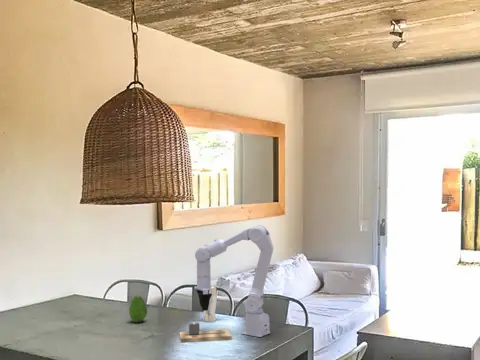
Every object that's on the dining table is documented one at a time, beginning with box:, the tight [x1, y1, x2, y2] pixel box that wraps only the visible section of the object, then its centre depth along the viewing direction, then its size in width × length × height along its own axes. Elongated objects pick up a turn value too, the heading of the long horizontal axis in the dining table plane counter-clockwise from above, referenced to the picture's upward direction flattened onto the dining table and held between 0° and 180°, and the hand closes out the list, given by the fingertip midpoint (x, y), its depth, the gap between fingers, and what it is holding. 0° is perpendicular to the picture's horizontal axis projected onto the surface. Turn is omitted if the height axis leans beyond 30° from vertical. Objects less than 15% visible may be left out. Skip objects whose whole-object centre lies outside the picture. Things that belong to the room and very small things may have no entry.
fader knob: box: [188, 322, 200, 335], centre depth 218 cm, size 4×2×4 cm, turn 100°
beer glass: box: [202, 285, 218, 323], centre depth 248 cm, size 7×7×15 cm
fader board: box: [178, 329, 233, 344], centre depth 219 cm, size 20×10×2 cm, turn 100°
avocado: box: [128, 294, 148, 323], centre depth 246 cm, size 8×8×12 cm
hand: (204, 308), depth 229 cm, fingers open, 7 cm apart
